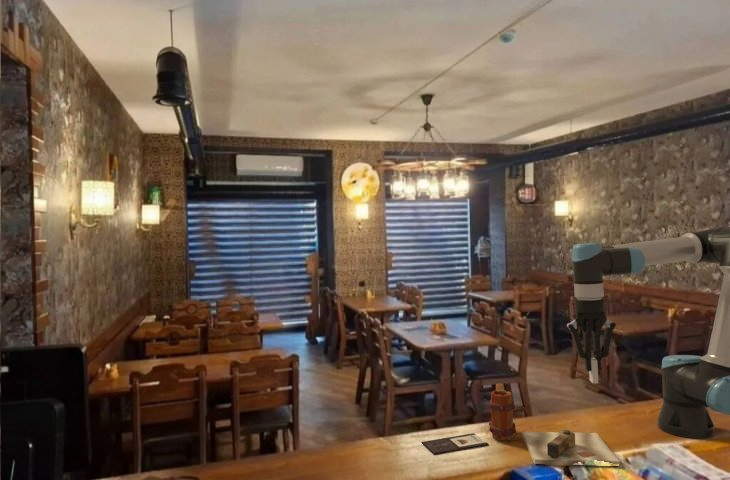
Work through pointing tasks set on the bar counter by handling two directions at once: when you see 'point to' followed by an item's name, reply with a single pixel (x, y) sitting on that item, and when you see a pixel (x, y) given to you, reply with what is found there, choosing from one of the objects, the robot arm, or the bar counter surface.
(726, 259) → the robot arm
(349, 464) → the bar counter surface
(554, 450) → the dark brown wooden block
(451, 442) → the chocolate bar
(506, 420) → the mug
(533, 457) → the dial board
